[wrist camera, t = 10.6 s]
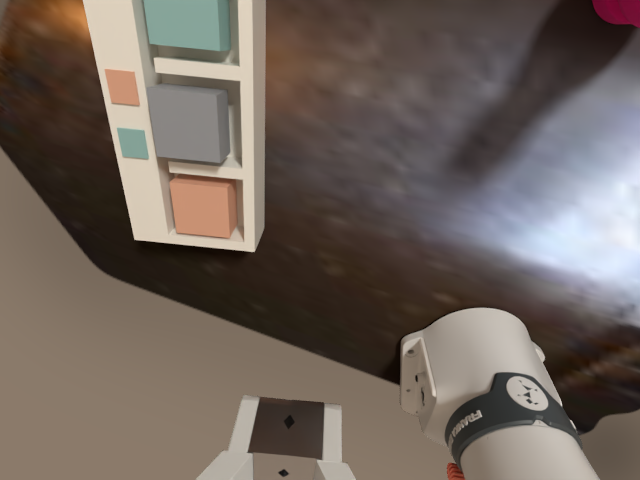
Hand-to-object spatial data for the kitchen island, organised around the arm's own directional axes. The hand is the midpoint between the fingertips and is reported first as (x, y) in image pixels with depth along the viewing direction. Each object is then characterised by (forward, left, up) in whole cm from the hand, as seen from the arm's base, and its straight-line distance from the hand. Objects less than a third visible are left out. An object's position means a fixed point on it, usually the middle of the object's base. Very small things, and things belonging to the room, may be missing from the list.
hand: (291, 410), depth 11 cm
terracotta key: (-5, +11, -25) cm, 28 cm away
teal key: (+11, +11, -25) cm, 29 cm away
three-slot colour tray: (+3, +12, -27) cm, 30 cm away
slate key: (+3, +11, -23) cm, 26 cm away
